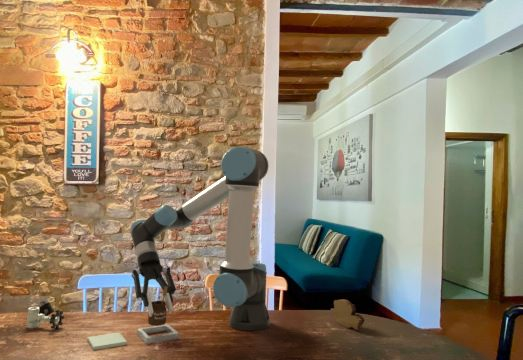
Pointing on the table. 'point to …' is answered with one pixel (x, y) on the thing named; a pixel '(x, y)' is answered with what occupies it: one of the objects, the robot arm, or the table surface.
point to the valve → (43, 318)
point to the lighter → (45, 308)
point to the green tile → (106, 341)
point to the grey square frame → (159, 338)
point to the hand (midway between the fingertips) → (161, 312)
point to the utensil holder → (158, 311)
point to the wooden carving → (347, 314)
